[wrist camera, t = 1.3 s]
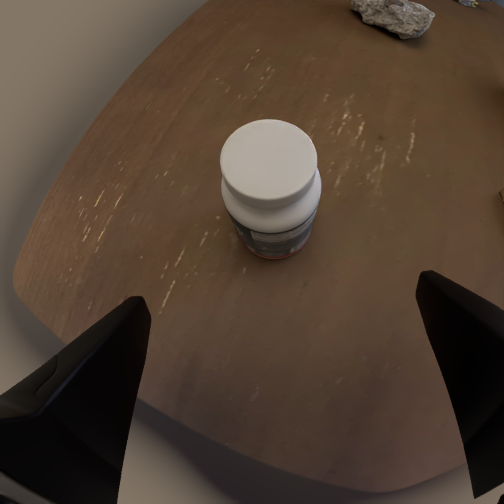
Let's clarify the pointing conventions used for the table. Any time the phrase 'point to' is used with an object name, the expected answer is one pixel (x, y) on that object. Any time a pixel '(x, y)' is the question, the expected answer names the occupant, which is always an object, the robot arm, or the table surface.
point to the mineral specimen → (395, 16)
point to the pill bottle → (271, 186)
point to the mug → (469, 2)
